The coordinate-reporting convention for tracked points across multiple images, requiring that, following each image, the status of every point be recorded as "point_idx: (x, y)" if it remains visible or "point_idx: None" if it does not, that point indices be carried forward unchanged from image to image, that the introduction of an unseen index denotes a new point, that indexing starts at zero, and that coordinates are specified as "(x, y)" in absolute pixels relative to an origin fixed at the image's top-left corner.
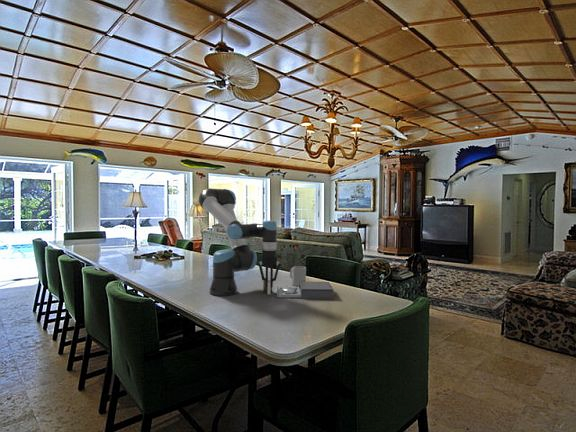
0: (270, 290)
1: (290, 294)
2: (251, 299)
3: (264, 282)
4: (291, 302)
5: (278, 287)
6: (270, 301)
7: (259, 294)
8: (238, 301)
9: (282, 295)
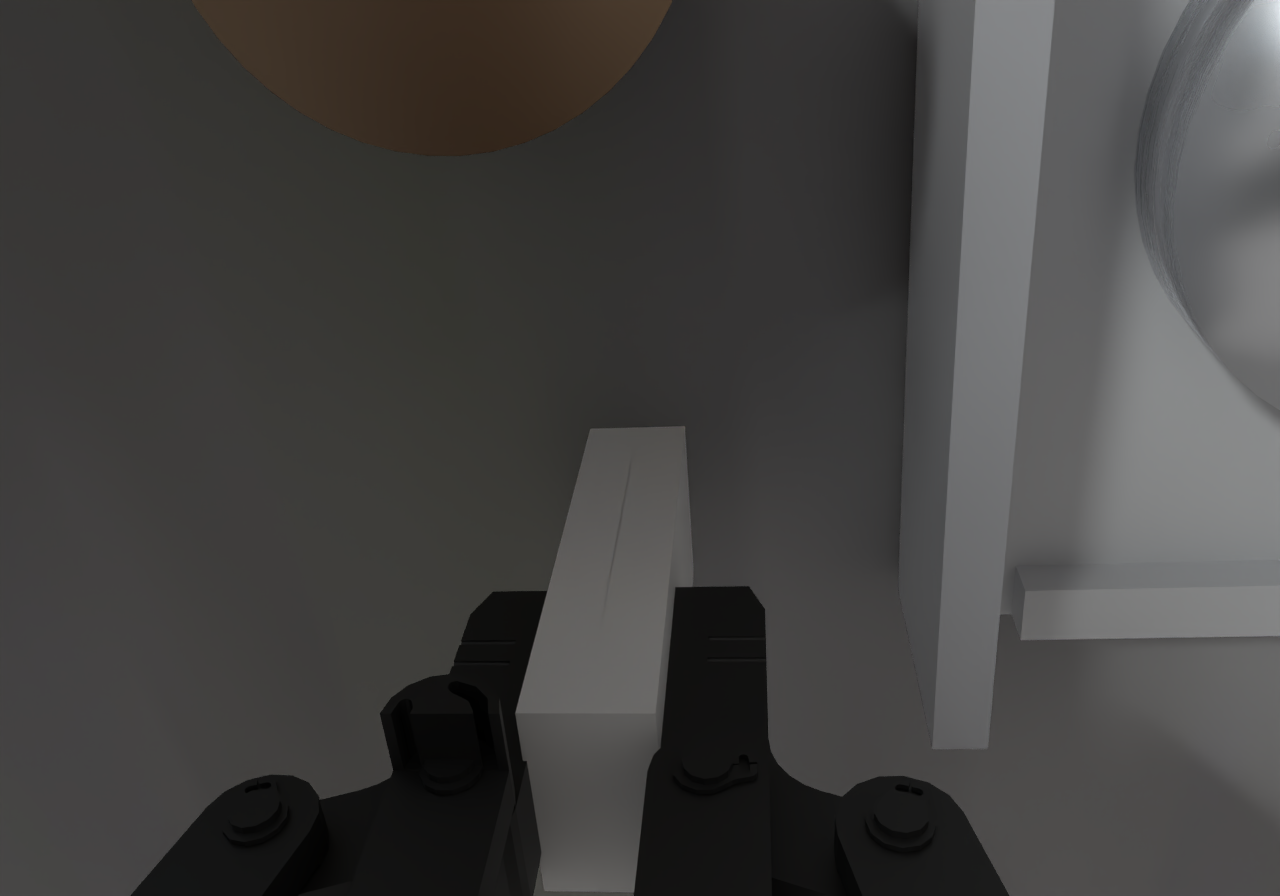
0: (682, 503)
1: None
2: (245, 721)
3: (270, 81)
4: (1245, 886)
5: (1013, 444)
6: None
7: (305, 251)
8: (26, 850)
9: (1083, 618)
